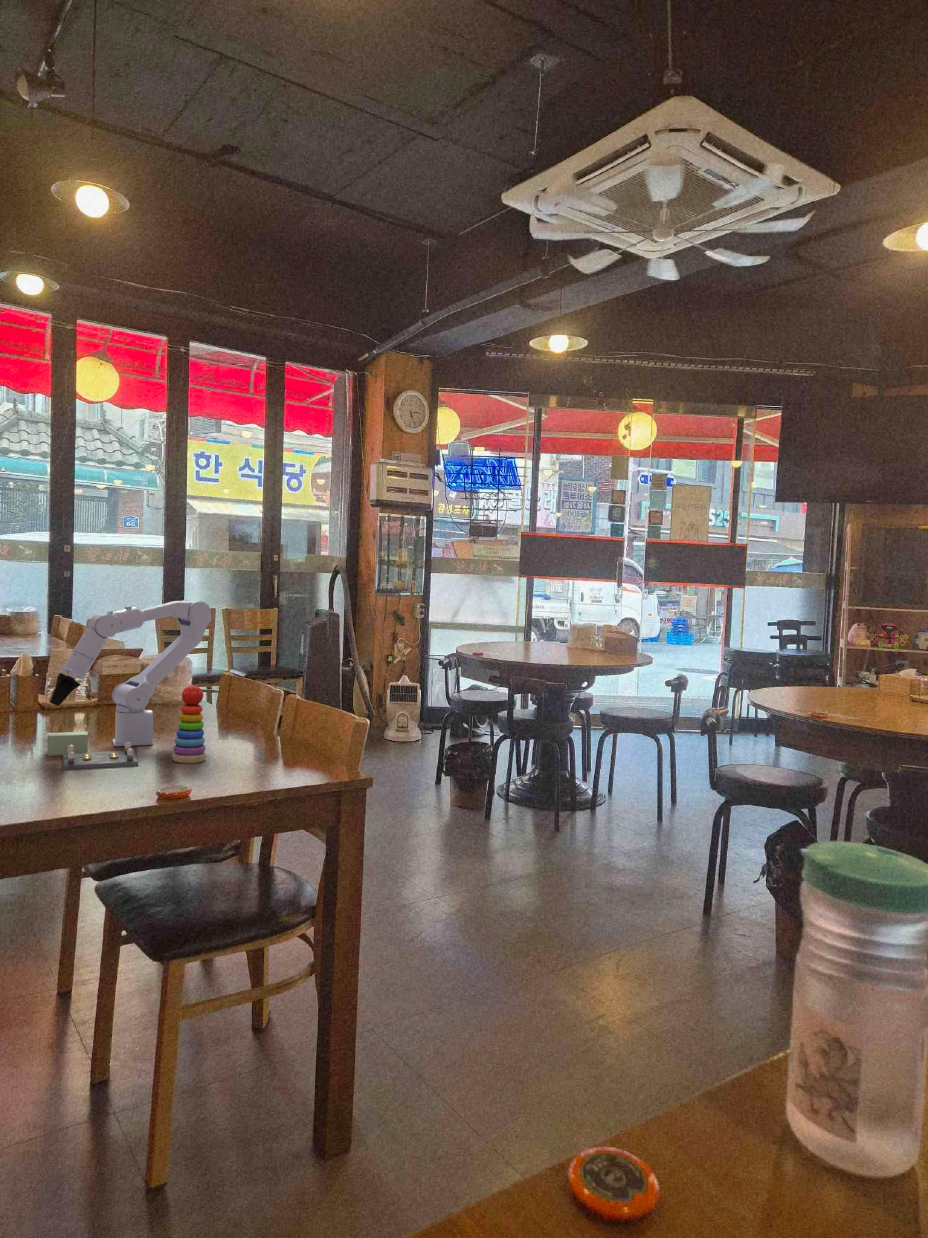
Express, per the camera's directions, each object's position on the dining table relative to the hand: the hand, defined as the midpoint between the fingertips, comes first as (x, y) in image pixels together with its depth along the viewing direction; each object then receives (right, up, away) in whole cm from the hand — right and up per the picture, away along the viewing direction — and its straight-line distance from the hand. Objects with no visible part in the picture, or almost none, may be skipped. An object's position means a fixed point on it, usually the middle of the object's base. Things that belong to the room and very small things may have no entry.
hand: (54, 704), depth 206 cm
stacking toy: (+34, -14, -2) cm, 37 cm away
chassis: (+15, -13, -7) cm, 21 cm away
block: (+3, -12, +1) cm, 13 cm away
